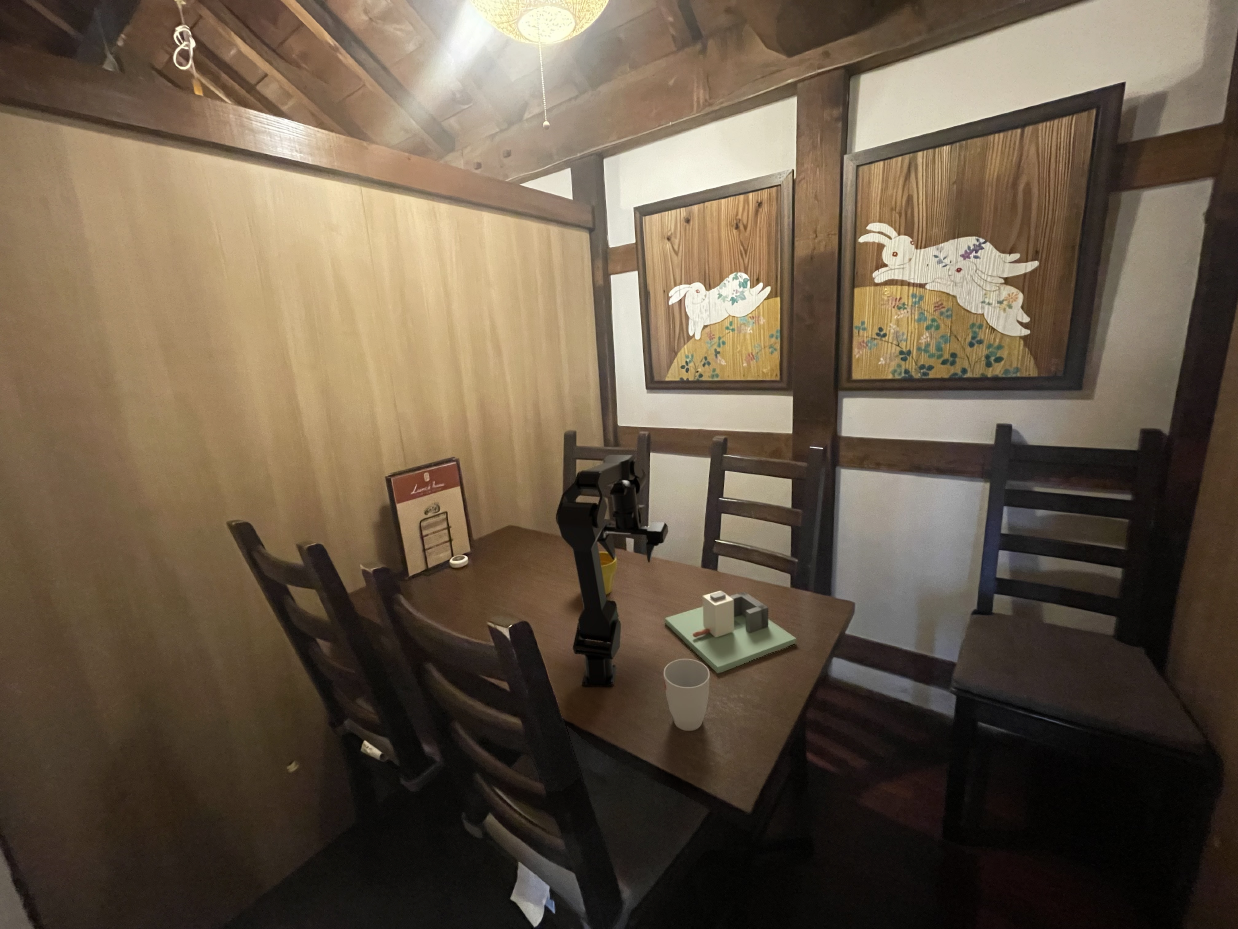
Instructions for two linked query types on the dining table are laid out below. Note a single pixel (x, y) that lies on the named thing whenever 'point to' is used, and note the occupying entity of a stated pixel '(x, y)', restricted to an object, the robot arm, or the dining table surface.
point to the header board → (728, 640)
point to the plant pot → (607, 570)
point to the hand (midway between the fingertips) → (631, 560)
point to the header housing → (750, 611)
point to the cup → (687, 692)
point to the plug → (717, 614)
